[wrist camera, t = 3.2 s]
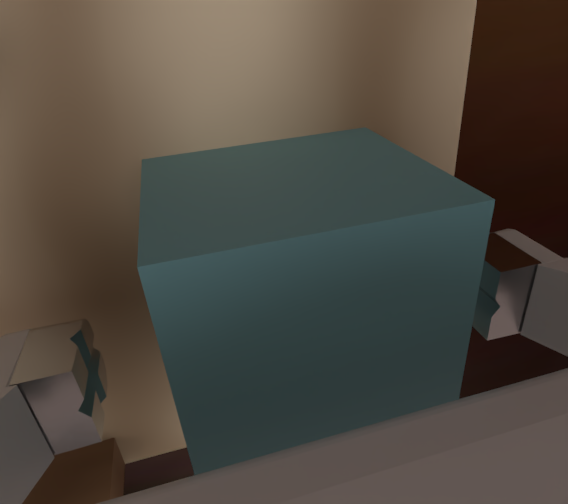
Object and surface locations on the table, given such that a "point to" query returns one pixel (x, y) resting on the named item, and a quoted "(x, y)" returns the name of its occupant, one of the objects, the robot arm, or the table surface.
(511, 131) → the table surface
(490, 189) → the table surface
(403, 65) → the deck
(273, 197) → the block
